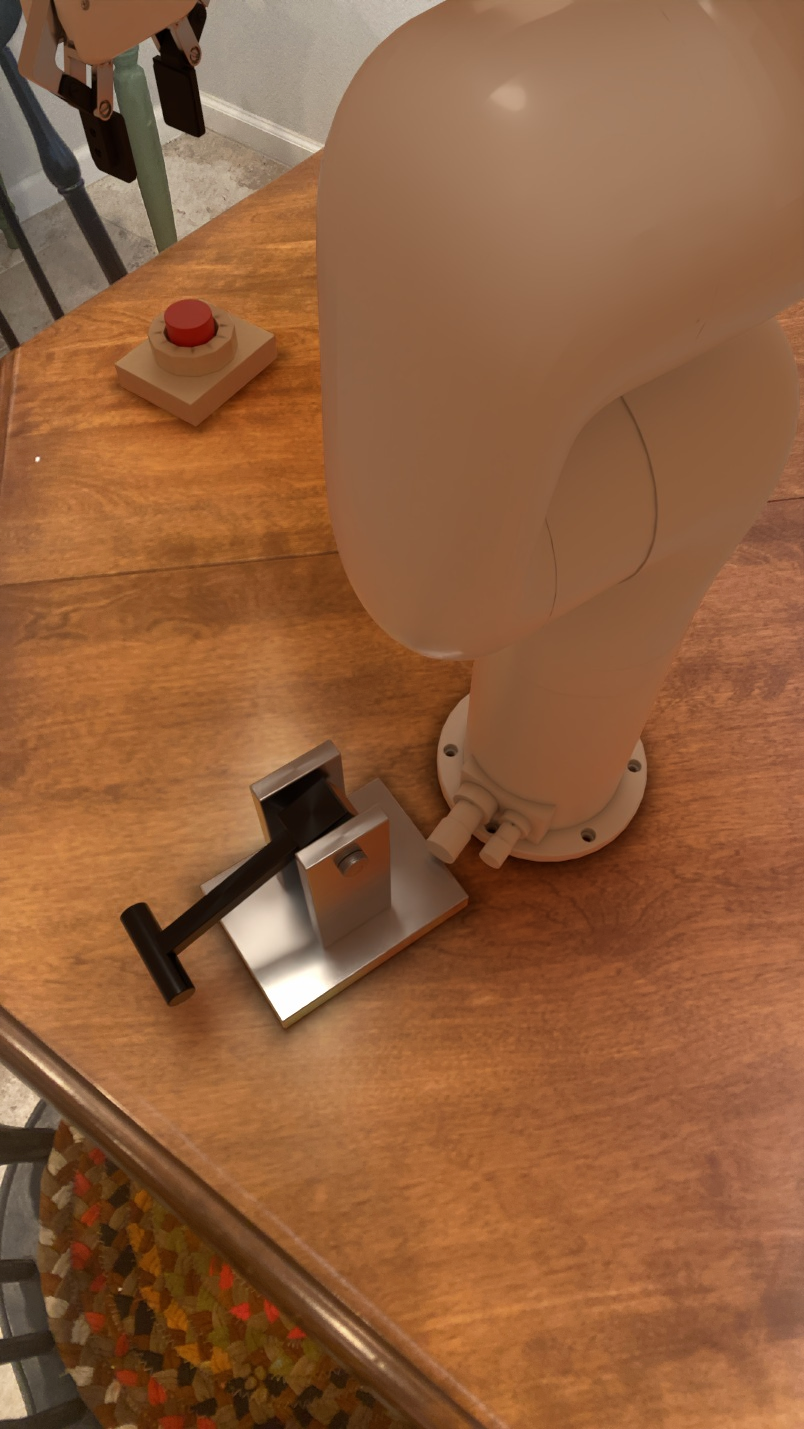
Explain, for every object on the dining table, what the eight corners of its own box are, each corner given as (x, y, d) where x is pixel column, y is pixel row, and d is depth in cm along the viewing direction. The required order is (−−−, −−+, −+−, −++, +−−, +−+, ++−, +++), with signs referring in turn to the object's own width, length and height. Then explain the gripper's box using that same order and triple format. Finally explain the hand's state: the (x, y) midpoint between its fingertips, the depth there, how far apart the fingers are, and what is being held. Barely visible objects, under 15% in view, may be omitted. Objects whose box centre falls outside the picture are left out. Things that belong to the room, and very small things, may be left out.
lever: (183, 1008, 44) (156, 1007, 42) (135, 923, 47) (107, 917, 44) (382, 845, 44) (365, 835, 42) (325, 767, 46) (306, 753, 44)
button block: (195, 427, 73) (185, 385, 70) (120, 386, 76) (107, 343, 72) (278, 357, 77) (272, 314, 74) (204, 320, 80) (195, 277, 76)
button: (193, 354, 72) (189, 335, 71) (158, 337, 73) (153, 317, 72) (224, 329, 74) (221, 310, 72) (190, 312, 75) (185, 292, 73)
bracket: (284, 1029, 50) (252, 958, 39) (203, 895, 54) (152, 795, 43) (467, 905, 53) (485, 808, 42) (379, 787, 57) (374, 670, 46)
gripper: (135, -288, 51) (197, 79, 66) (-125, -193, 44) (12, 194, 59) (242, -261, 49) (280, 112, 64) (-14, -156, 41) (99, 236, 57)
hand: (151, 148), depth 61 cm, fingers open, 5 cm apart
